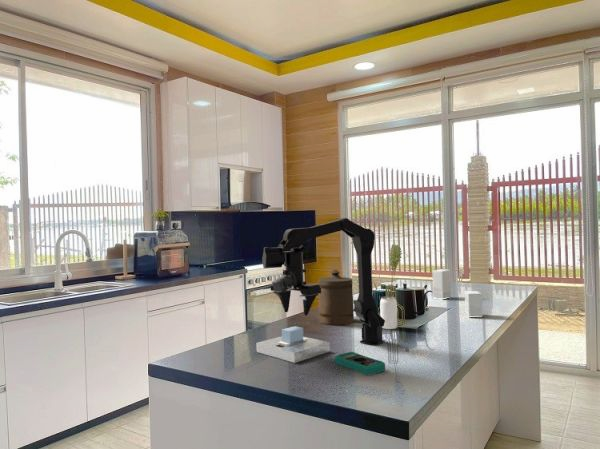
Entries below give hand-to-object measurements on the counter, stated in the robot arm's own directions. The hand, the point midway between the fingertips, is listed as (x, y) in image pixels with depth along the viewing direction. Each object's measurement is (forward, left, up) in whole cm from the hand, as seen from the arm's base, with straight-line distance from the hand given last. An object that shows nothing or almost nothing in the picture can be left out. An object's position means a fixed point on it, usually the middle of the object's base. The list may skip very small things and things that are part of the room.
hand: (295, 313), depth 148 cm
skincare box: (+11, -120, -12) cm, 121 cm away
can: (-5, -46, -12) cm, 48 cm away
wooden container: (+19, -42, -13) cm, 48 cm away
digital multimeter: (-26, 0, -13) cm, 29 cm away
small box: (-21, -87, -13) cm, 91 cm away
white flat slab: (0, +2, -12) cm, 12 cm away
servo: (0, +2, -12) cm, 12 cm away
